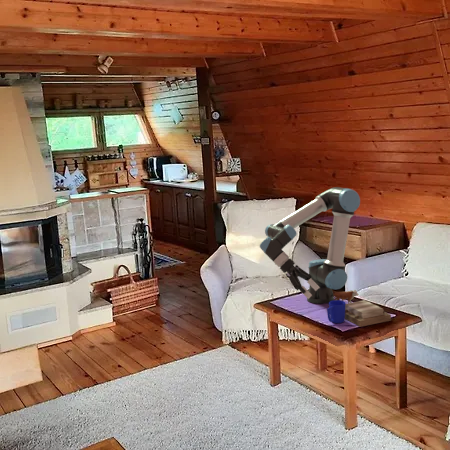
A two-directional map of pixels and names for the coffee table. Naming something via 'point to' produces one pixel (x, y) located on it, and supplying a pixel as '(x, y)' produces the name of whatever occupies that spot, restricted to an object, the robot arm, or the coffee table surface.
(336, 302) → the mug
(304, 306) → the coffee table surface
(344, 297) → the bull figurine
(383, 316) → the plinth
